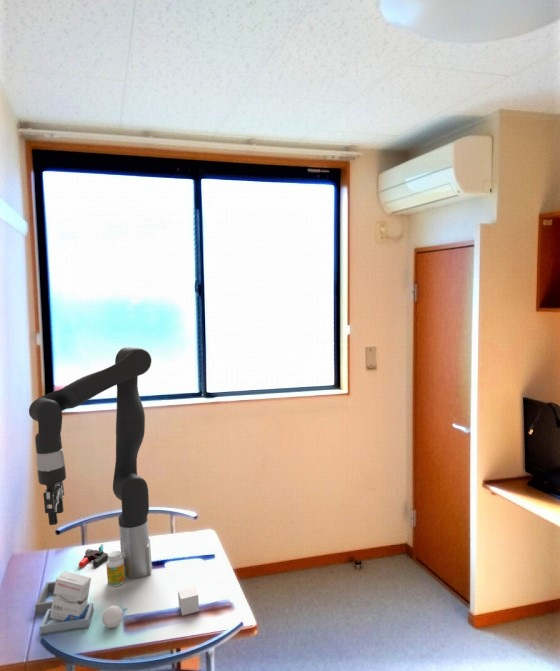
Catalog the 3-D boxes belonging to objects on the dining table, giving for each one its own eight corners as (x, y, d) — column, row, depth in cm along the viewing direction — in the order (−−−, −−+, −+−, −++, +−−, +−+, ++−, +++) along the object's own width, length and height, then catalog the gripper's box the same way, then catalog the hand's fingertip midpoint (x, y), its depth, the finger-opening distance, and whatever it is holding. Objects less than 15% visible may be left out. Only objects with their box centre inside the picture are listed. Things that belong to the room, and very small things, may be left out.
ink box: (85, 614, 154) (92, 576, 153) (77, 625, 149) (84, 586, 148) (58, 607, 155) (64, 569, 154) (49, 618, 150) (55, 578, 149)
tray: (48, 617, 155) (47, 609, 155) (93, 610, 157) (93, 602, 157) (40, 635, 147) (39, 626, 147) (88, 628, 149) (87, 619, 149)
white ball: (124, 629, 147) (122, 610, 147) (102, 634, 146) (100, 614, 145) (123, 614, 155) (122, 595, 154) (103, 618, 153) (101, 599, 153)
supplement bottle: (109, 589, 169) (107, 559, 168) (106, 581, 174) (104, 552, 173) (126, 583, 171) (124, 554, 171) (123, 576, 176) (121, 548, 175)
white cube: (195, 602, 159) (194, 586, 159) (199, 611, 154) (198, 594, 154) (178, 606, 157) (177, 590, 157) (182, 615, 153) (181, 599, 152)
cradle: (73, 588, 171) (72, 579, 170) (64, 610, 158) (63, 600, 158) (47, 591, 169) (46, 582, 169) (36, 614, 157) (35, 604, 157)
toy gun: (90, 552, 195) (89, 540, 195) (112, 560, 189) (111, 546, 188) (67, 564, 187) (66, 551, 187) (89, 572, 181) (88, 558, 180)
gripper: (43, 459, 164) (48, 510, 165) (31, 475, 150) (37, 530, 152) (69, 456, 166) (74, 507, 167) (59, 471, 152) (65, 526, 153)
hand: (56, 518), depth 159 cm, fingers open, 8 cm apart
